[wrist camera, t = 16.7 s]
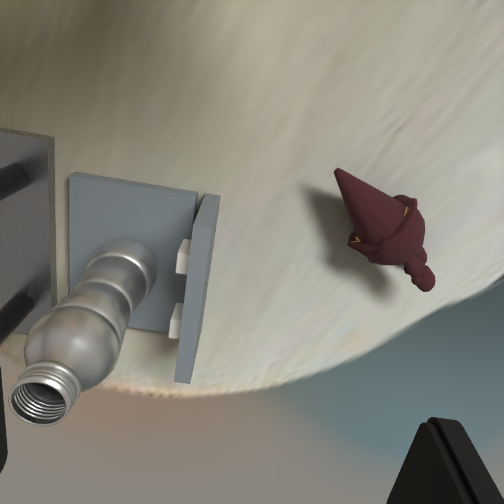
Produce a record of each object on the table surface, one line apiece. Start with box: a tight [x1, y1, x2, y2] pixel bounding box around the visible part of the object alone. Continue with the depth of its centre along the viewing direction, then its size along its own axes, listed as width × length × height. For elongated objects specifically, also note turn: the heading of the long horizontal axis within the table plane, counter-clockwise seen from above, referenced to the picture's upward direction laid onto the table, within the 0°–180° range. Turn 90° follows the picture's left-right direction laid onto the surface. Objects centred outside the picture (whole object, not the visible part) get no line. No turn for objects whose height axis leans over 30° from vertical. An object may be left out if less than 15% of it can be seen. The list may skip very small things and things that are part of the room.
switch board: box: [69, 172, 220, 384], centre depth 42 cm, size 16×14×9 cm
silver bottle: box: [8, 239, 157, 426], centre depth 35 cm, size 6×7×20 cm
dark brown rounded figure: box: [334, 168, 435, 292], centre depth 41 cm, size 7×7×15 cm
